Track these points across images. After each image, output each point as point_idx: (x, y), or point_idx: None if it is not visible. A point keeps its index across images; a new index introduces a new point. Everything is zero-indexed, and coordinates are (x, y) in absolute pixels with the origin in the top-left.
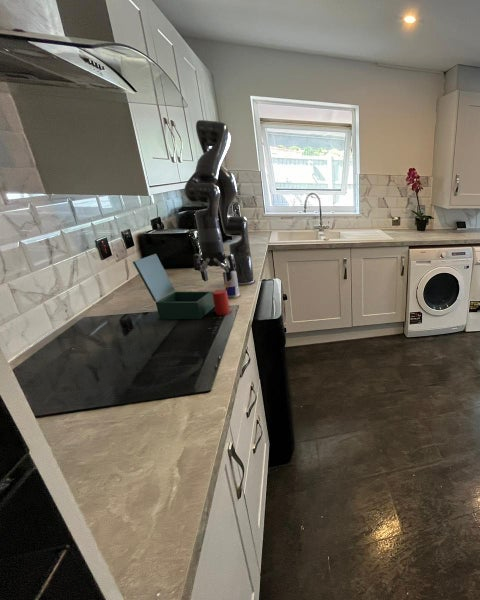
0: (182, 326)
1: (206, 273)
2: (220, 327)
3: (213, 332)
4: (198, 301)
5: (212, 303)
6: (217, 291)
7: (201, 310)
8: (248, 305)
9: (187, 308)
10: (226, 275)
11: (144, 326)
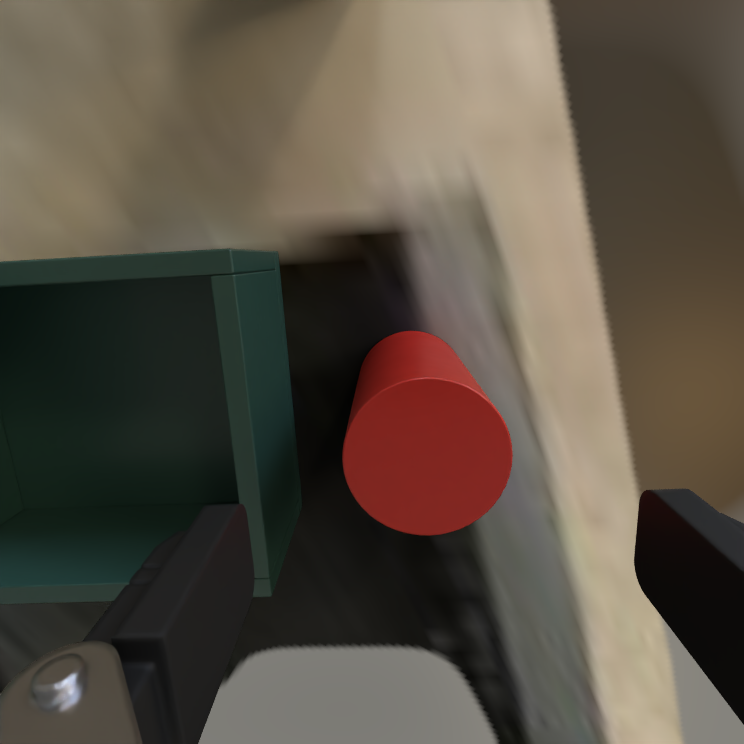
0: (252, 616)
1: (197, 623)
2: (503, 626)
3: (490, 689)
4: (265, 571)
5: (270, 286)
6: (398, 455)
7: (288, 502)
8: (572, 196)
9: None
10: (720, 684)
11: (21, 619)
